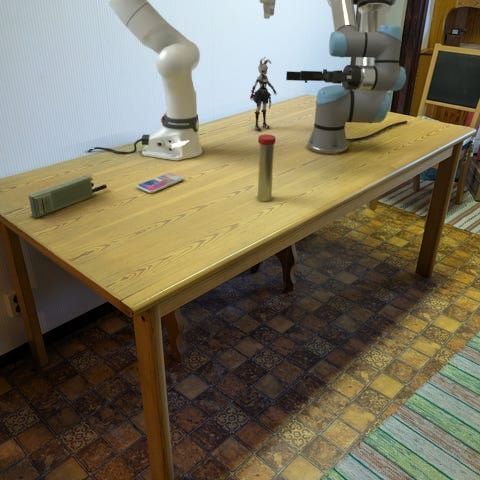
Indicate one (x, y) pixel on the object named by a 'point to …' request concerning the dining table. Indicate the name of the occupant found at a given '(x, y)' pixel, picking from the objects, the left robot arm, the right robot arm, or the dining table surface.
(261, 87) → the figurine
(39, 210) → the handheld radio
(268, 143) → the lid
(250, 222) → the dining table surface
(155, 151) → the left robot arm
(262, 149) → the olive cylindrical rod
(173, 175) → the smartphone
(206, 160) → the dining table surface
